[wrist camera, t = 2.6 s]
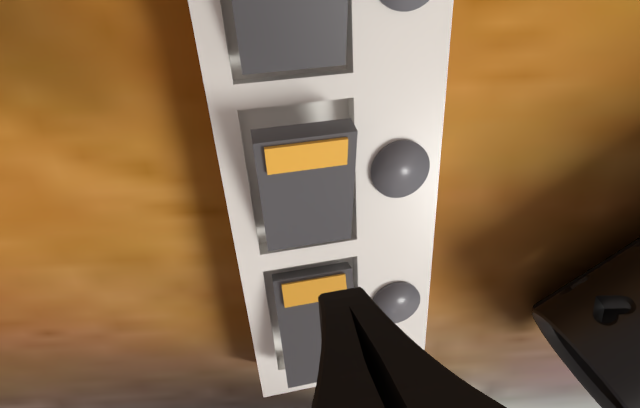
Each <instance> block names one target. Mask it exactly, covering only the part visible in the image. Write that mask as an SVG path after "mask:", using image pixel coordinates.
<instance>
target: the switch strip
mask: <svg viewBox="0 0 640 408" xmlns="http://www.w3.org/2000/svg"><path fill="white" fill-rule="evenodd" d="M188 4H189V10H190V15H191V20H192V25H193V30H194V36H195V41H196V46H197V51H198V57H199V62H200V67H201V72H202V78H203V83H204V88H205V93H206V99H207V104H208V109H209V114H210V120H211V125H212V130H213V135H214V141H215V146H216V151H217V156H218V161H219V167H220V172H221V177H222V182H223V188H224V193H225V198H226V203H227V209H228V214H229V219H230V224H231V230H232V235H233V240H234V245H235V251H236V256H237V261H238V266H239V271H240V277H241V282H242V287H243V292H244V298H245V303H246V308H247V313H248V319H249V324H250V329H251V334H252V340H253V345H254V350H255V355H256V361H257V366H258V371H259V376H260V381H261V387H262V392H263V397H268V396H273V395H278V394H283V393H287V392H292V391H297V390H302V389H307V388H311V387H316V383H317V382H316V383H311V384H306V385H302V386H297V387H292V388H288V384H287V377H286V370H285V363H284V356H283V349H282V343H281V336H280V329H279V322H278V315H277V308H276V301H275V294H274V287H273V280H272V274H276V273H282V272H288V271H294V270H300V269H306V268H312V267H318V266H324V265H330V264H336V263H342V262H348V263H349V265H350V266H351V268H352V273H353V284H354V288H355V287H361V288H363V289H364V290H365V292H366V293H367V294H368V295H369V296H370V297H371V299H372V300H373V301H374V302H375V303H376V304H377V305H378V306H379V307H380V309H381V310H382V311H383V312H384V313H385V314H386V315H387V316H388V317H389V318H390V319H391V320H392V321H393V322H394V323H395V324H396V325H397V326H398V327H399V328H400V329H401V330H402V331H403V332H404V333H405V334H406V335H408V336H409V337H410V338H411V339H412V340H413V341H414V342H415V343H416V344H418V345H419V346H420V347H421V348H422V349H423V350H425V338H426V326H427V314H428V302H429V290H430V278H431V266H432V253H433V241H434V229H435V217H436V205H437V193H438V181H439V169H440V157H441V145H442V133H443V121H444V108H445V96H446V84H447V72H448V60H449V48H450V36H451V24H452V12H453V0H348V15H347V44H346V65H341V66H330V67H320V68H310V69H299V70H289V71H278V72H268V73H258V74H247V75H242V69H241V62H240V55H239V48H238V41H237V35H236V28H235V21H234V14H233V7H232V0H188ZM347 118H351V119H352V121H353V123H354V125H355V127H356V129H357V131H358V134H357V150H356V166H355V183H354V199H353V215H352V231H351V238H350V239H343V240H337V241H331V242H324V243H318V244H312V245H305V246H299V247H293V248H286V249H280V250H274V251H268V247H267V240H266V233H265V226H264V219H263V213H262V206H261V199H260V192H259V185H258V178H257V172H256V165H255V158H254V151H253V144H252V137H251V129H260V128H268V127H277V126H286V125H294V124H303V123H312V122H321V121H329V120H338V119H347Z"/></svg>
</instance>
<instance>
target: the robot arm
mask: <svg viewBox="0 0 640 408" xmlns="http://www.w3.org/2000/svg"><path fill="white" fill-rule="evenodd" d="M318 303H319V315H320V327H321V339H322V341H321V354H320V362H319V370H318V377H317V383H316V389H315V394H314V399H313V403H312V408H506V407H505V406H503V405H501V404H500V403H498V402H497V401H495V400H493V399H492V398H490V397H488V396H487V395H485V394H484V393H482V392H480V391H479V390H477V389H475V388H474V387H472V386H471V385H469V384H468V383H467V382H465V381H464V380H462V379H461V378H459V377H458V376H456V375H455V374H454V373H452V372H451V371H450V370H448V369H447V368H446V367H444V366H443V365H442V364H440V363H439V362H438V361H437V360H435V359H434V358H433V357H432V356H430V355H429V354H428V353H427V352H426V351H424V350H423V349H422V348H421V347H420V346H419V345H418V344H416V343H415V342H414V341H413V340H412V339H411V338H410V337H409V336H408V335H406V334H405V333H404V332H403V331H402V330H401V329H400V328H399V327H398V326H397V325H396V324H395V323H394V322H393V321H392V320H391V319H390V318H389V317H388V316H387V315H386V314H385V313H384V312H383V311H382V310H381V309H380V307H379V306H378V305H377V304H376V303H375V302H374V301H373V300H372V299H371V297H370V296H369V295H368V294H367V293H366V292H365V290H364V289H363V288H361V287H355V288H350V289H344V290H338V291H333V292H327V293H322V294H321V295H320V296H319V297H318Z"/></svg>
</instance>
